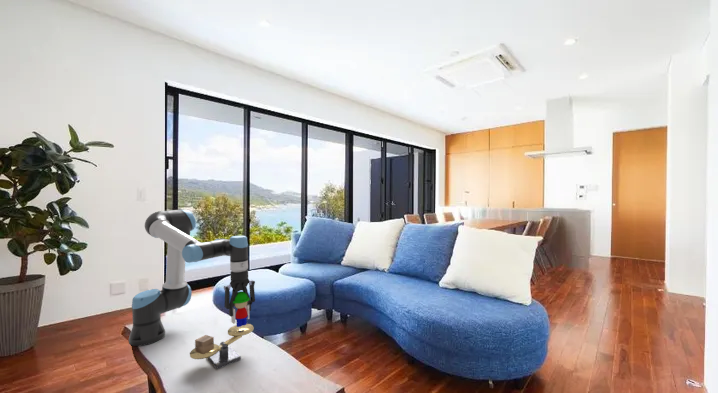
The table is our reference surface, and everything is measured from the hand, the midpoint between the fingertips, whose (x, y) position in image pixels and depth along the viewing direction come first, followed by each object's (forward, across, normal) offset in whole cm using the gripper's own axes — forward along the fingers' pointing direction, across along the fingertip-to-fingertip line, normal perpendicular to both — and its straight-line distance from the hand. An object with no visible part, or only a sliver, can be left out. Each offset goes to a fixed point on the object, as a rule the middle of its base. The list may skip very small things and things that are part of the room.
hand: (240, 320), depth 140 cm
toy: (+2, 0, 0) cm, 2 cm away
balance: (+15, -8, 0) cm, 17 cm away
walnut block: (+8, -15, 0) cm, 17 cm away
